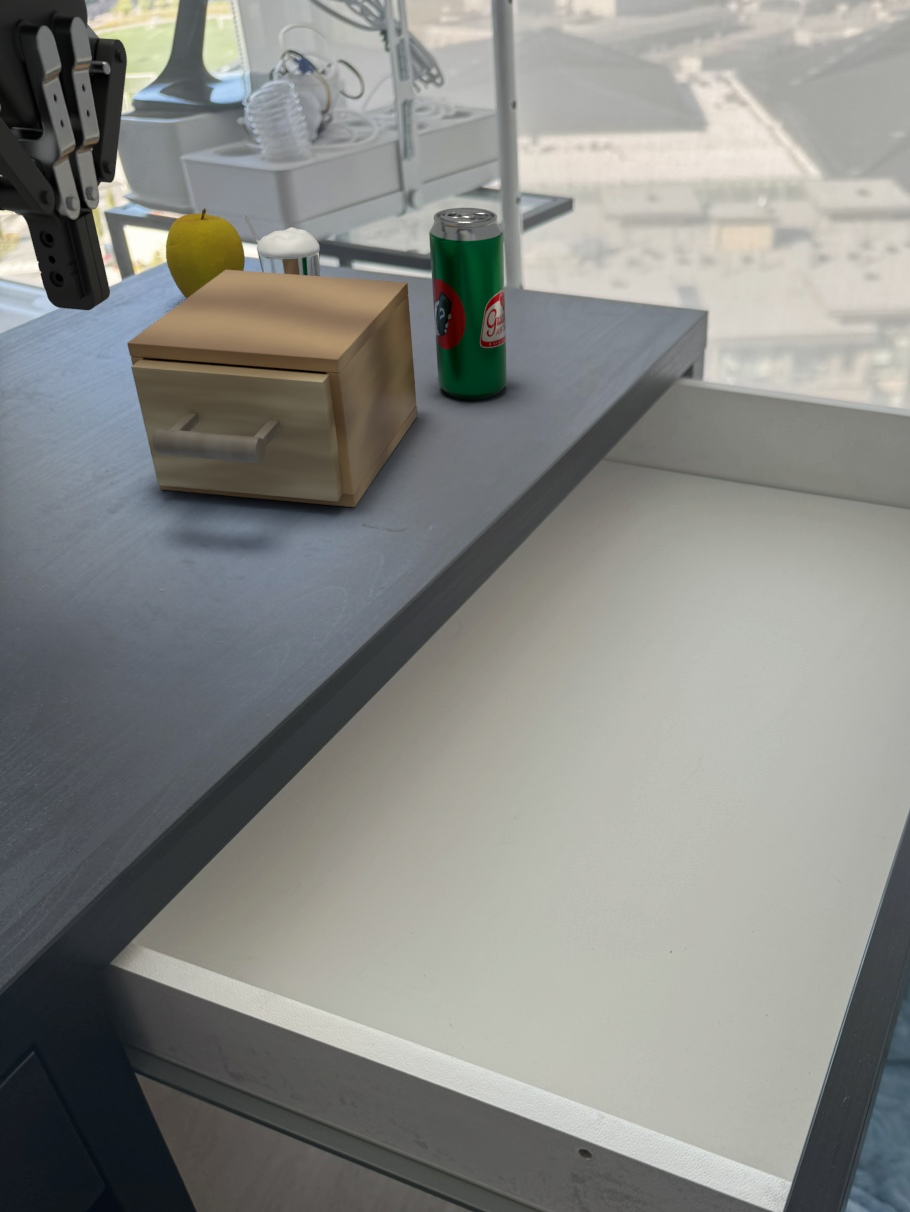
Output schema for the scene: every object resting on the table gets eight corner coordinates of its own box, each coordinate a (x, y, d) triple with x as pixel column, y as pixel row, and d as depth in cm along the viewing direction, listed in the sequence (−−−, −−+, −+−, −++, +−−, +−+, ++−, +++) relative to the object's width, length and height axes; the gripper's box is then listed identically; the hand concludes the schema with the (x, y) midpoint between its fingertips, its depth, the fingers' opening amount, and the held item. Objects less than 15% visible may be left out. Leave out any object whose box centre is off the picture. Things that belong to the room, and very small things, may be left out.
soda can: (498, 405, 85) (493, 227, 77) (430, 399, 85) (419, 222, 78) (513, 380, 88) (510, 208, 81) (449, 374, 89) (439, 203, 81)
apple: (232, 321, 97) (215, 217, 92) (162, 313, 98) (141, 211, 93) (265, 297, 102) (250, 198, 97) (197, 291, 103) (179, 192, 98)
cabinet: (354, 507, 72) (337, 359, 66) (160, 489, 73) (126, 342, 67) (417, 416, 83) (407, 282, 77) (247, 401, 84) (225, 269, 78)
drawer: (313, 534, 67) (296, 411, 62) (126, 517, 68) (94, 394, 63) (399, 415, 80) (390, 306, 76) (241, 402, 82) (222, 294, 77)
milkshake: (277, 342, 93) (257, 207, 87) (340, 349, 93) (325, 213, 86) (253, 362, 90) (231, 223, 84) (319, 369, 89) (301, 228, 83)
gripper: (-36, -209, 46) (74, 255, 57) (-277, -217, 36) (-87, 348, 47) (145, -201, 45) (220, 267, 56) (-50, -207, 35) (89, 364, 46)
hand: (80, 303), depth 52 cm, fingers closed
